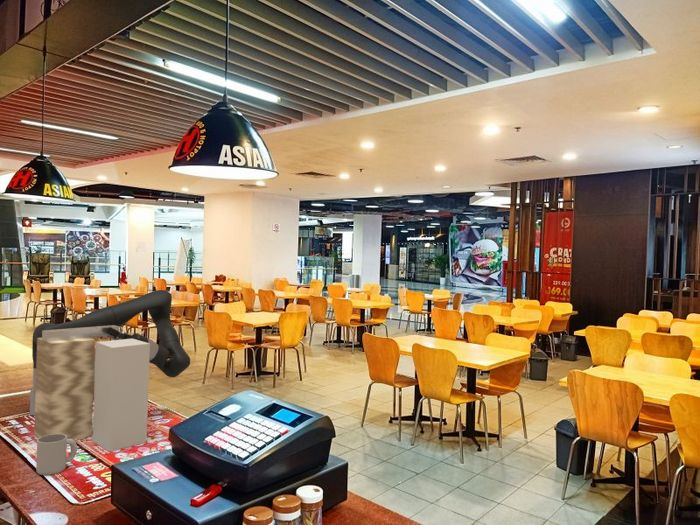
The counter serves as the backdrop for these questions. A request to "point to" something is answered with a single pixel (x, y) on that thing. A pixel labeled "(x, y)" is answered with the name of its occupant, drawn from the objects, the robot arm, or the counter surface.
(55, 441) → the cup
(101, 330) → the wooden block
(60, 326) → the robot arm
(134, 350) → the block
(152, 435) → the counter surface
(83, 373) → the walnut stand
